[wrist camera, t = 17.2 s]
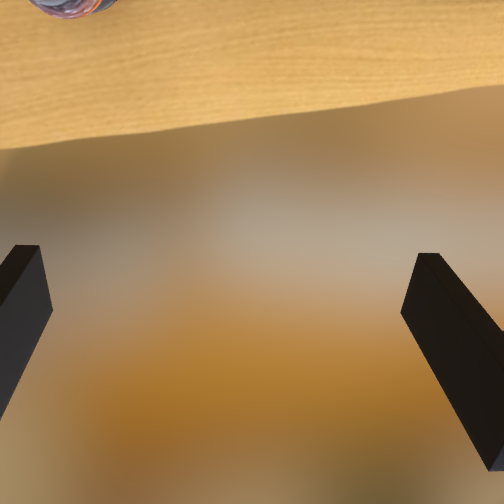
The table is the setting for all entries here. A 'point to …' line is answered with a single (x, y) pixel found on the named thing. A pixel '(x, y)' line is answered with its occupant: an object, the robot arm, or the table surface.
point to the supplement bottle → (71, 7)
